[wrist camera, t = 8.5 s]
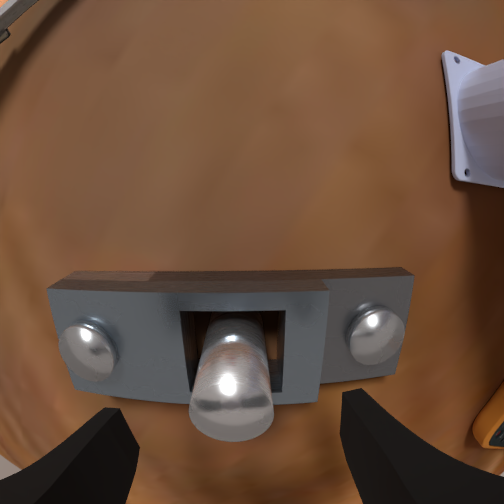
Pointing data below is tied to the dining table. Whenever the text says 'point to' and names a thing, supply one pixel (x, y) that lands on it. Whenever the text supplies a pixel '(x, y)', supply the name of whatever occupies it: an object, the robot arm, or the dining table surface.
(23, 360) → the dining table surface
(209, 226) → the dining table surface
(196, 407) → the steel pin
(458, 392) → the dining table surface
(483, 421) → the multimeter
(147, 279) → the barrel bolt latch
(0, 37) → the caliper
